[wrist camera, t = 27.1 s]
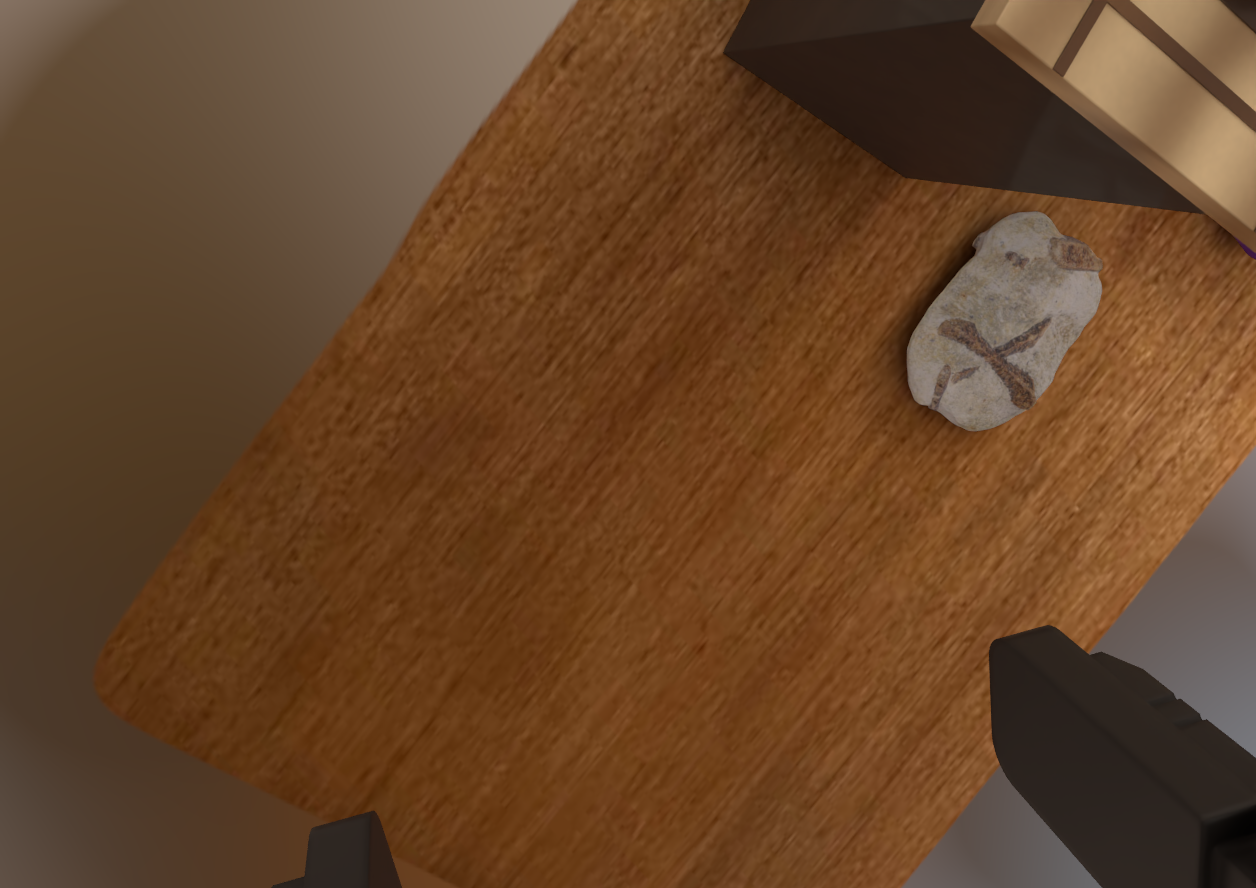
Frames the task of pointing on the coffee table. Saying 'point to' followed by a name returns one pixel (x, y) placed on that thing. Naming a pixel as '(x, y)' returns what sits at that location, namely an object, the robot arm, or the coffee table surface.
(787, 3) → the board stand
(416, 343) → the coffee table surface
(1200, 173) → the game board
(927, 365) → the stone
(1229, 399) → the coffee table surface
